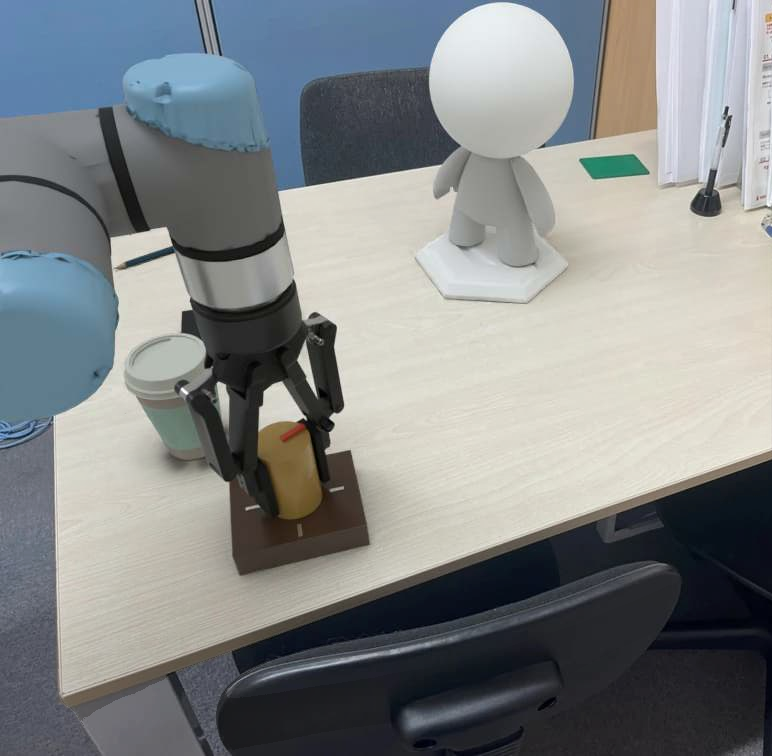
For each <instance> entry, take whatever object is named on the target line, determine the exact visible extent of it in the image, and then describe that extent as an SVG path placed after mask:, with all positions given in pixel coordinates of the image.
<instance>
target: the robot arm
mask: <svg viewBox="0 0 772 756" xmlns="http://www.w3.org/2000/svg"><path fill="white" fill-rule="evenodd" d="M122 77H123V78H122V89H123V94H124V95H123V97H122V100H123V103H117V104H113V105H112V106H105V107H98V108H87V109H81V110H80V109H78V110H70V111H69V110H68V111H59V112H58V111H57V112H50V113H49V112H47V113H42V114H41V113H39V114H28V115H19V116H11V117H10V116H9V117H0V422H3V423H22V422H31V421H36V420H42V419H47V418H51V417H54V416H55V417H56V416H58V415H60V414H63V413H66V412H68V411H70V410H72V409H74V408H76V407H78V406H79V405H81V404H82V403H84V402H85V401H87V400H88V399H90V398H91V397H92V396H93V395H94V394H95V393H96V392H97V391H98V390H99V389H100V387H101V386H102V385H103V383H104V382H105V381H106V379H107V377H108V376H109V374H110V372H111V371H112V370H113V368H114V363H115V356H116V331H117V328H118V326H119V322H120V313H119V306H120V305H119V304H120V299H119V296H118V294H117V292H116V289H115V281H114V273H113V264H112V240H111V238H117V237H124V236H128V235H135V234H140V233H146V232H151V231H152V230H157V229H163V228H166V229H167V231H168V236H169V239H170V242H171V246H173V248H174V255H175V258H176V261H177V264H178V267H179V270H180V274H181V277H182V280H183V283H184V286H185V289H186V292H187V294H188V296H189V303H190V306H191V310H193V313H194V316H195V319H196V323H197V326H198V329H199V332H200V335H201V338H202V341H203V343H204V346H205V349H206V356H205V360H204V368H205V370H204V371H202V372H201V373H200V374H199V375H198V376H197V377H196V378H194V379H193V380H192V381H191V382H188V381H187V380H180V381H179V382H177V383H176V384H175V387H174V391H175V392H176V393H177V394H178V395H179V396H180V397H181V398H182V399H183V400H184V401H185V402H186V403H187V404H188V406H189V409H190V412H191V415H192V418H193V421H194V424H195V427H196V430H197V433H198V436H199V439H200V442H201V445H202V448H203V451H204V454H205V457H204V458H205V460H206V463H207V466H208V467H209V468H210V469H211V470H212V471H214V472H215V473H216V474H217V475H218V476H219V477H220V478H221V479H222V480H223V481H224V482H225V483H229V482H230V481H232V480H233V479H234V478H235V477H236V475H237V478H238V481H239V484H240V487H241V488H242V489H243V490H244V491H245V492H246V493H247V494H249V495H250V496H251V497H254V498H255V501H256V503H257V504H258V505H259V506H260V507H261V508H262V509H263V510H264V511H265V512H266V513H267V514H268V515H269V516H270V517H271V518H272V519H274V518H275V517H277V516H278V515H279V514H280V513H279V509H278V506H277V502H276V499H275V495H274V492H273V488H272V484H271V481H270V477H269V474H268V470H267V467H266V466H265V465H264V464H263V463H262V462H261V461H260V460H258V459H257V457H258V432H259V431H260V430H259V429H260V426H259V425H260V408H261V407H263V406H264V398H265V397H264V394H265V391H267V390H268V389H269V388H270V387H272V385H274V384H278V383H281V382H282V384H283V386H284V387H285V388H286V391H287V392H288V393H289V395H290V396H291V398H292V400H293V401H294V403H295V404H296V406H297V408H298V409H299V411H300V413H301V414H302V415H303V416H304V417H302V418H300V419H299V420H297V421H296V423H299V424H301V423H302V424H304V425H305V426H306V428H307V430H308V431H309V433H310V437H311V442H312V447H313V451H314V456H315V461H316V466H317V470H318V475H319V480H320V481H321V482H323V483H324V484H325V483H326V482H328V481H329V480H330V474H329V469H328V464H327V459H326V455H327V454H326V450H327V449H328V448H330V447H331V444H332V443H331V442H332V441H331V437H330V436H331V435H330V432H332V431H333V430H334V428H335V426H336V424H335V421H333V420H332V419H331V417H332V416H333V414H340V413H342V412H343V410H344V409H345V400H344V395H343V389H342V383H341V377H340V373H339V366H338V361H337V356H336V350H335V342H336V339H337V338H336V337H337V332H338V326H337V325H336V324H335V323H334V322H333V321H331V320H329V319H328V318H327V317H326V316H324V315H322V314H321V313H319V312H318V311H313V312H311V313H310V314H309V316H308V317H307V319H303V313H302V309H301V308H302V307H301V303H300V298H299V292H298V287H297V283H296V280H295V279H294V276H295V270H294V265H293V261H292V260H293V259H292V256H291V251H290V246H289V240H288V236H287V230H286V226H285V223H284V216H283V211H282V206H281V199H280V194H279V193H280V192H279V188H278V183H277V182H278V181H277V177H276V171H275V166H274V161H273V160H274V159H273V154H272V149H271V148H272V147H271V138H270V137H269V134H268V131H267V127H266V123H265V118H264V115H263V111H262V106H261V102H260V98H259V94H258V90H257V87H256V86H257V85H256V81H255V79H254V78H253V75H252V74H251V73H250V72H249V71H248V70H247V69H246V68H245V67H244V66H243V65H242V64H241V63H239V62H237V61H235V60H233V59H231V58H228V57H226V56H222V55H219V54H218V55H217V54H212V53H202V52H201V53H200V52H187V53H172V54H166V55H164V56H163V57H160V58H151V59H146V60H143V61H140V62H138V63H136V64H134V65H132V66H131V67H130V68H129V69H127V71H126V72H125V73H124V75H123V76H122ZM304 344H305V345H306V351H307V355H308V360H309V364H310V370H311V375H312V378H313V384H314V389H315V392H314V390H313V388H312V387H311V384H310V383H309V381H308V380H307V375H306V373H305V371H304V369H303V368H302V366H301V364H300V363H299V360H298V359H299V357H300V354H301V352H302V349H303V347H304V346H305V345H304ZM218 383H221V384H223V385H225V390H226V394H227V395H228V437H227V435H226V431H225V427H224V423H223V424H222V421H223V420H222V421H221V417H220V414H219V412H218V410H217V408H216V407H215V406H214V405H213V404H215V403H216V402H217V398H216V392H215V385H216V384H217V385H218ZM305 418H306V419H305Z"/></svg>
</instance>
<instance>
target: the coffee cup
mask: <svg viewBox="0 0 772 756" xmlns="http://www.w3.org/2000/svg"><path fill="white" fill-rule="evenodd" d="M205 356H206V349H205V346H204V343H203V341H202V340H200V339H199V338H197V337H195V336H193V335H190V334H185V333H181V332H170V333H164V334H158V335H155V336H153V337H149V338H147V339H145V340H144V341H142V342H140V343H139V344H137V345H136V346H134V347H133V348H132V349H131V350H130V351H129V353H128V354H127V356H126V357H125V360H124V369H123V379H124V380H123V381H124V385H125V388H126V390H128V391H129V393H131V394H132V395H134V396H135V397H136V400H137V401H138V403H139V404H140V406H141V408H142V409H143V411H144V412H145V415H146V416H147V417H148V419H149V421H150V423H151V424H152V426H153V427H154V429H155V430H156V432H157V434H158V435H159V437H160V439H161V440H162V442H163V443H164V445H165V447H166V448H167V450H168V452H169V453H170V454H171V455H172V456H173V457H174V458H176V459H178V460H183V461H195V460H199V459H203V458H206V457H205V454H204V451H203V448H202V445H201V442H200V439H199V436H198V433H197V430H196V427H195V424H194V421H193V418H192V415H191V412H190V409H189V406H188V404H187V403H186V402H185V401H184V400H183V399H182V398H181V397H180V396H179V395H178V394H177V393H176V392H175V391H174V387H175V384H176V383H177V382H179V381H180V380H187V381H188V382H191V381H192V380H193V379H194V378H196V377H197V376H198V375H199V374H200V373H201V372H202V371H204V370H205V368H204V360H205ZM215 392H216V398H217V402H216V403H215V404H213V405H214V406H215V407H216V408H217V410H218V412H219V414H220V417H221V421H222V424H223V425H224V422H223V416H222V410H221V402H220V396H219V389H218V383H217V384H216V385H215Z"/></svg>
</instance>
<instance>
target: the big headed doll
mask: <svg viewBox="0 0 772 756" xmlns="http://www.w3.org/2000/svg"><path fill="white" fill-rule="evenodd" d="M574 83H575V77H574V68H573V62H572V58H571V55H570V52H569V50H568V47H567V45H566V43H565V41H564V39H563V37H562V36H561V34H560V32H559V31H558V30H557V29H556V27H555V26H554V25H553V24H552V23H551V22H550V21H549V20H548V19H547V18H546V17H545V16H543V15H542V14H541V13H539V12H537V11H536V10H534V9H532V8H530V7H527V6H525V5H522V4H518V3H514V2H505V1H503V2H501V1H500V2H490V3H486V4H482V5H479V6H476V7H474V8H472V9H469V10H468V11H466V12H464V13H463V14H462V15H460V16H459V17H458V18H456V20H454V21H453V22H452V23H451V24H450V25H449V26H448V27H447V29H446V30H445V31H444V32H443V34H442V35H441V37H440V39H439V41H437V45H436V47H435V49H434V51H433V55H432V57H431V61H430V67H429V74H428V87H429V97H430V100H431V105H432V107H433V110H434V113H435V116H436V117H437V119H438V121H439V123H440V124H441V126H442V127H443V129H444V131H445V132H446V133H447V134H448V135H449V136H450V137H451V139H453V141H455V142H456V143H457V144H459V145H460V146H459V147H458V148H457V149H455V150H454V151H453V152H452V153H451V154H450V155H449V156H447V158H446V159H445V160H444V161H443V163H442V164H441V165H440V167H439V168H438V170H437V172H436V174H435V176H434V179H433V185H432V194H433V197H434V199H436V200H439V199H441V198H443V197H444V196H446V195H447V194H449V193H450V192H451V188H452V191H453V192H454V193H456V195H455V199H454V204H453V209H452V213H451V219H450V224H449V225H450V226H449V229H447V230H446V231H444V232H443V233H441V234H440V235H438V236H436V238H434V239H433V240H431V241H429V242H428V243H426V244H425V245H424V246H422V247H421V248H420V249H419V250H418V251H416V253H414V259H415V261H416V262H417V263H418V265H419V266H420V267H421V268H422V270H423V271H424V273H425V274H426V275H427V277H428V278H429V279H430V281H431V282H432V284H434V286H435V287H436V289H437V290H438V292H439V293H440V294H441V296H442V297H443V298H444V299H449V300H450V299H451V300H466V301H482V302H483V301H484V302H500V303H514V304H528V303H529V302H530V301H531V300H532V299H533V298H535V297H536V296H537V295H538V294H539V293H540V292H542V291H543V290H544V289H545V288H547V286H548V285H549V284H550V283H552V282H553V281H554V280H555V279H556V278H558V277H559V276H560V275H562V273H563V272H564V271H565V270H566V269H567V268H568V267H569V263H568V262H567V260H566V259H565V258H564V257H563V256H562V255H561V254H560V253H559V252H558V251H557V250H556V249H555V248H554V247H553V246H552V245H551V244H550V243H549V242H548V241H547V240H546V239H545V238H544V236H546V235H548V234H550V233H551V232H552V231H553V230H554V227H555V225H556V211H555V210H556V209H555V207H554V202H553V199H552V198H551V195H550V194H549V191H548V190H547V188H546V186H545V185H544V182H543V181H542V179H541V178H540V176H539V174H538V172H537V171H536V170H535V168H533V166H532V164H530V162H529V161H528V160H526V159H525V157H523V156H524V155H526V154H529V153H531V152H533V151H535V150H537V149H539V148H540V147H541V146H543V145H545V143H547V142H548V141H549V140H550V139H551V138H553V136H554V135H555V134H556V133H557V131H558V130H559V129H560V127H561V126H562V125H563V123H564V121H565V119H566V117H567V115H568V114H569V110H570V107H571V104H572V102H573V101H572V100H573V96H574V87H575V84H574ZM533 226H534V227H535V228H536V230H537V231H536V230H535V229H534V227H533Z"/></svg>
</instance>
